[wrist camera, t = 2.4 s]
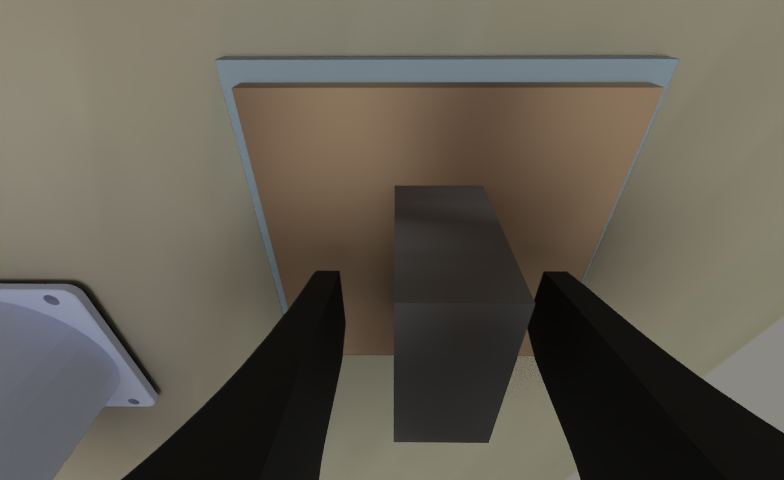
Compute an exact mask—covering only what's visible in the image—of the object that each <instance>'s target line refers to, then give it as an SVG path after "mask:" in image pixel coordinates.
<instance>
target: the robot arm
mask: <svg viewBox="0 0 784 480" xmlns="http://www.w3.org/2000/svg"><path fill="white" fill-rule="evenodd" d="M534 301H535V307H534V310H533V312H532V315H531V318H530V321H529V324H528V327H527V330H528V334H529V338H530V342H531V346H532V350H533V353H534V357H535V360H536V363H537V366H538V368H539V371H540V373H541V376H542V379H543V381H544V384H545V386H546V389H547V391H548V394H549V396H550V399H551V401H552V404H553V406H554V409H555V411H556V414H557V416H558V419H559V421H560V424H561V426H562V429H563V431H564V434H565V436H566V439H567V441H568V444H569V446H570V449H571V452H572V455H573V457H574V460H575V463H576V466H577V469H578V472H579V476H580V479H581V480H784V433H783V432H781V431H779V430H778V429H776V428H775V427H773V426H772V425H770V424H768V423H767V422H765V421H764V420H762V419H761V418H759V417H757V416H756V415H755V414H753V413H752V412H750V411H748V410H747V409H746V408H744V407H743V406H741V405H740V404H738V403H737V402H735V401H734V400H732V399H731V398H729V397H728V396H726V395H725V394H723V393H722V392H720V391H719V390H717V389H716V388H714V387H713V386H711V385H710V384H709V383H707V382H706V381H705V380H703V379H702V378H700V377H699V376H697V375H696V374H695V373H693V372H692V371H691V370H689V369H688V368H687V367H685V366H684V365H683V364H681V363H680V362H679V361H677V360H676V359H675V358H673V357H672V356H671V355H669V354H668V353H667V352H665V351H664V350H663V349H661V348H660V347H659V346H658V345H656V344H655V343H654V342H652V341H651V340H650V339H649V338H647V337H646V336H645V335H644V334H642V333H641V332H640V331H639V330H637V329H636V328H635V327H634V326H633V325H631V324H630V323H629V322H628V321H626V320H625V319H624V318H623V317H622V316H620V315H619V314H618V313H617V312H616V311H614V310H613V309H612V308H611V307H610V306H608V305H607V304H606V303H605V302H604V301H602V300H601V299H600V298H599V297H598V296H596V295H595V294H594V293H593V292H592V291H591V290H589V289H588V288H587V287H586V286H585V285H583V284H582V283H581V282H580V281H579V280H577V279H576V278H575V277H574V276H572V275H571V274H570V273H568V272H567V271H544V272H543V275H542V278H541V281H540V284H539V287H538V290H537V293H536V296H535V299H534ZM345 328H346V320H345V311H344V303H343V295H342V286H341V278H340V271H316V272H315V273H313V275H312V276H311V278H310V279H309V281H308V282H307V284H306V285H305V286H304V288H303V289H302V291H301V292H300V294H299V295H298V297H297V298H296V299H295V301H294V302H293V303H292V305H291V306H290V308H289V309H288V310H287V312H286V313H285V314H284V315H283V317H282V318H281V319H280V321H279V322H278V323H277V324H276V326H275V327H274V328H273V330H272V331H271V332H270V333H269V335H268V336H267V337H266V338H265V339H264V341H263V342H262V343H261V344H260V345H259V346H258V348H257V349H256V350H255V351H254V352H253V353H252V355H251V356H250V357H249V358H248V359H247V360H246V362H245V363H244V364H243V365H242V366H241V367H240V368H239V369H238V371H237V372H236V373H235V374H234V375H233V376H232V377H231V378H230V379H229V380H228V381H227V382H226V383H225V384H224V386H223V387H222V388H221V389H220V390H219V391H218V392H217V393H216V394H215V395H214V396H213V397H212V398H211V399H210V400H209V401H208V402H207V403H206V404H205V405H204V406H203V407H202V408H201V409H200V410H199V411H198V412H197V413H195V414H194V415H193V416H192V417H191V418H190V419H189V420H188V421H187V422H186V423H185V424H184V425H183V426H182V427H181V428H180V429H178V430H177V431H176V432H175V433H174V434H173V435H172V436H171V437H170V438H169V439H168V440H167V441H166V442H164V443H163V444H162V445H161V446H160V447H159V448H158V449H157V450H156V451H154V452H153V453H152V454H151V455H150V456H149V457H148V458H146V459H145V460H144V461H143V462H142V463H140V464H139V465H138V466H137V467H136V468H134V469H133V470H132V471H131V472H130V473H129V474H127V475H126V476H125V477H124V478H123V479H121V480H319V475H320V467H321V461H322V455H323V449H324V443H325V439H326V434H327V429H328V425H329V420H330V415H331V410H332V406H333V401H334V396H335V392H336V387H337V382H338V377H339V373H340V368H341V363H342V358H343V348H344V338H345ZM157 399H158V394H157V393H156V391H155V390H154V389H153V387H152V386H151V385H150V383H149V382H148V380H147V379H146V378H145V376H144V375H143V373H142V372H141V371H140V369H139V368H138V366H137V365H136V364H135V362H134V361H133V360H132V358H131V357H130V355H129V354H128V353H127V351H126V350H125V348H124V347H123V346H122V344H121V343H120V341H119V340H118V339H117V337H116V336H115V334H114V333H113V332H112V330H111V329H110V328H109V326H108V325H107V323H106V322H105V321H104V319H103V318H102V316H101V315H100V314H99V312H98V311H97V309H96V308H95V307H94V305H93V304H92V303H91V301H90V300H89V298H88V297H87V296H86V294H85V293H84V292H83V291H82V290H81V289H80V288H78V287H76V286H74V285H70V284H0V480H53V479H54V477H55V476H56V474H57V473H58V472H59V470H60V469H61V467H62V466H63V464H64V463H65V462H66V460H67V459H68V457H69V456H70V454H71V453H72V452H73V450H74V449H75V447H76V446H77V445H78V443H79V442H80V440H81V439H82V437H83V436H84V435H85V433H86V432H87V430H88V429H89V427H90V426H91V425H92V423H93V422H94V420H95V419H96V418H97V416H98V415H99V413H100V412H101V410H102V409H103V408H104V406H130V407H149V406H153V405H154V404H155V403H156V401H157Z"/></svg>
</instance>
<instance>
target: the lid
mask: <svg viewBox="0 0 784 480" xmlns="http://www.w3.org/2000/svg"><path fill="white" fill-rule="evenodd" d="M664 88H665V87H662V86H659V85H656V84H653V83H651V82H270V83H239V84H237V85H236V86H234V87H232V92H233V96H234V100H235V104H236V108H237V112H238V116H239V120H240V124H241V127H242V131H243V135H244V139H245V143H246V147H247V151H248V155H249V159H250V163H251V167H252V170H253V174H254V178H255V182H256V186H257V190H258V194H259V198H260V202H261V206H262V210H263V213H264V217H265V221H266V225H267V229H268V233H269V237H270V241H271V245H272V249H273V253H274V256H275V260H276V264H277V268H278V272H279V276H280V280H281V284H282V288H283V292H284V296H285V299H286V303H287V307H288V309H289V308H290V306H291V305H292V303H293V302H294V301H295V299H296V298H297V297H298V295H299V294H300V292H301V291H302V289H303V288H304V286H305V285H306V284H307V282H308V281H309V279H310V278H311V276H312V275H313V273H315V272H316V271H340V278H341V286H342V295H343V303H344V311H345V320H346V328H345V338H344V348H343V355H394V442H460V443H489V440H490V437H491V434H492V431H493V428H494V425H495V422H496V419H497V416H498V413H499V410H500V407H501V404H502V401H503V398H504V395H505V392H506V389H507V386H508V383H509V381H510V378H511V375H512V372H513V369H514V366H515V363H516V360H517V357H518V356H534V353H533V350H532V346H531V342H530V338H529V334H528V330H527V327H528V324H529V321H530V318H531V315H532V312H533V310H534V307H535V301H534V299H535V296H536V293H537V290H538V287H539V284H540V281H541V278H542V275H543V272H544V271H567V272H568V273H570V274H571V275H572V276H574V277H575V278H576V279H577V280H579V281H580V282H581V283H582V280H583V278H584V276H585V273H586V271H587V268H588V266H589V264H590V261H591V259H592V257H593V254H594V252H595V250H596V247H597V245H598V243H599V240H600V238H601V236H602V233H603V231H604V229H605V226H606V224H607V222H608V219H609V217H610V215H611V212H612V210H613V208H614V205H615V203H616V200H617V198H618V196H619V193H620V191H621V189H622V186H623V184H624V182H625V179H626V177H627V175H628V172H629V170H630V168H631V165H632V163H633V161H634V158H635V156H636V154H637V151H638V149H639V147H640V144H641V142H642V139H643V137H644V135H645V132H646V130H647V128H648V125H649V123H650V121H651V118H652V116H653V114H654V111H655V109H656V107H657V104H658V102H659V100H660V97H661V95H662V93H663V90H664Z"/></svg>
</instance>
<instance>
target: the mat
mask: <svg viewBox="0 0 784 480" xmlns="http://www.w3.org/2000/svg"><path fill="white" fill-rule="evenodd" d="M678 62H679V59H677V58H673V57H669V56H350V57H221V58H218V59H216V60H215V64H216V67H217V71H218V75H219V78H220V82H221V86H222V90H223V93H224V97H225V101H226V104H227V108H228V112H229V115H230V119H231V123H232V126H233V130H234V134H235V138H236V141H237V145H238V149H239V152H240V156H241V160H242V163H243V167H244V171H245V175H246V178H247V182H248V186H249V189H250V193H251V197H252V200H253V204H254V208H255V211H256V215H257V219H258V223H259V226H260V230H261V234H262V237H263V241H264V245H265V248H266V252H267V256H268V260H269V263H270V267H271V271H272V274H273V278H274V282H275V285H276V289H277V293H278V296H279V300H280V304H281V308H282V311H283V315H284V314H285V313H286V312H287V310H288V307H287V303H286V299H285V296H284V292H283V288H282V284H281V280H280V276H279V272H278V268H277V264H276V260H275V256H274V253H273V249H272V245H271V241H270V237H269V233H268V229H267V225H266V221H265V217H264V213H263V210H262V206H261V202H260V198H259V194H258V190H257V186H256V182H255V178H254V174H253V170H252V167H251V163H250V159H249V155H248V151H247V147H246V143H245V139H244V135H243V131H242V127H241V124H240V120H239V116H238V112H237V108H236V104H235V100H234V96H233V92H232V87H234V86H236V85H237V84H239V83H270V82H651V83H653V84H656V85H659V86H662V87H665V88H664V90H663V93H662V95H661V97H660V100H659V102H658V104H657V107H656V109H655V111H654V114H653V116H652V118H651V121H650V123H649V125H648V128H647V130H646V132H645V135H644V137H643V139H642V142H641V144H640V147H639V149H638V151H637V154H636V156H635V158H634V161H633V163H632V165H631V168H630V170H629V172H628V175H627V177H626V179H625V182H624V184H623V186H622V189H621V191H620V193H619V196H618V198H617V200H616V203H615V205H614V208H613V210H612V212H611V215H610V217H609V219H608V222H607V224H606V226H605V229H604V231H603V233H602V236H601V238H600V240H599V243H598V245H597V247H596V250H595V252H594V254H593V257H592V259H591V261H590V264H589V266H588V268H587V271H586V273H585V276H584V278H583V280H582V284H583V282H584V280H585V278H586V275H587V273H588V271H589V268H590V266H591V264H592V261H593V259H594V257H595V254H596V252H597V250H598V248H599V245H600V243H601V241H602V238H603V236H604V234H605V231H606V229H607V227H608V224H609V222H610V220H611V217H612V215H613V213H614V210H615V208H616V206H617V203H618V201H619V199H620V196H621V194H622V192H623V189H624V187H625V185H626V182H627V180H628V178H629V176H630V173H631V171H632V169H633V166H634V164H635V162H636V159H637V157H638V155H639V152H640V150H641V148H642V145H643V143H644V141H645V138H646V136H647V134H648V131H649V129H650V127H651V124H652V122H653V120H654V117H655V115H656V113H657V110H658V108H659V106H660V104H661V101H662V99H663V97H664V94H665V92H666V90H667V87H668V85H669V83H670V80H671V78H672V76H673V73H674V71H675V69H676V66H677V64H678Z"/></svg>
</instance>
